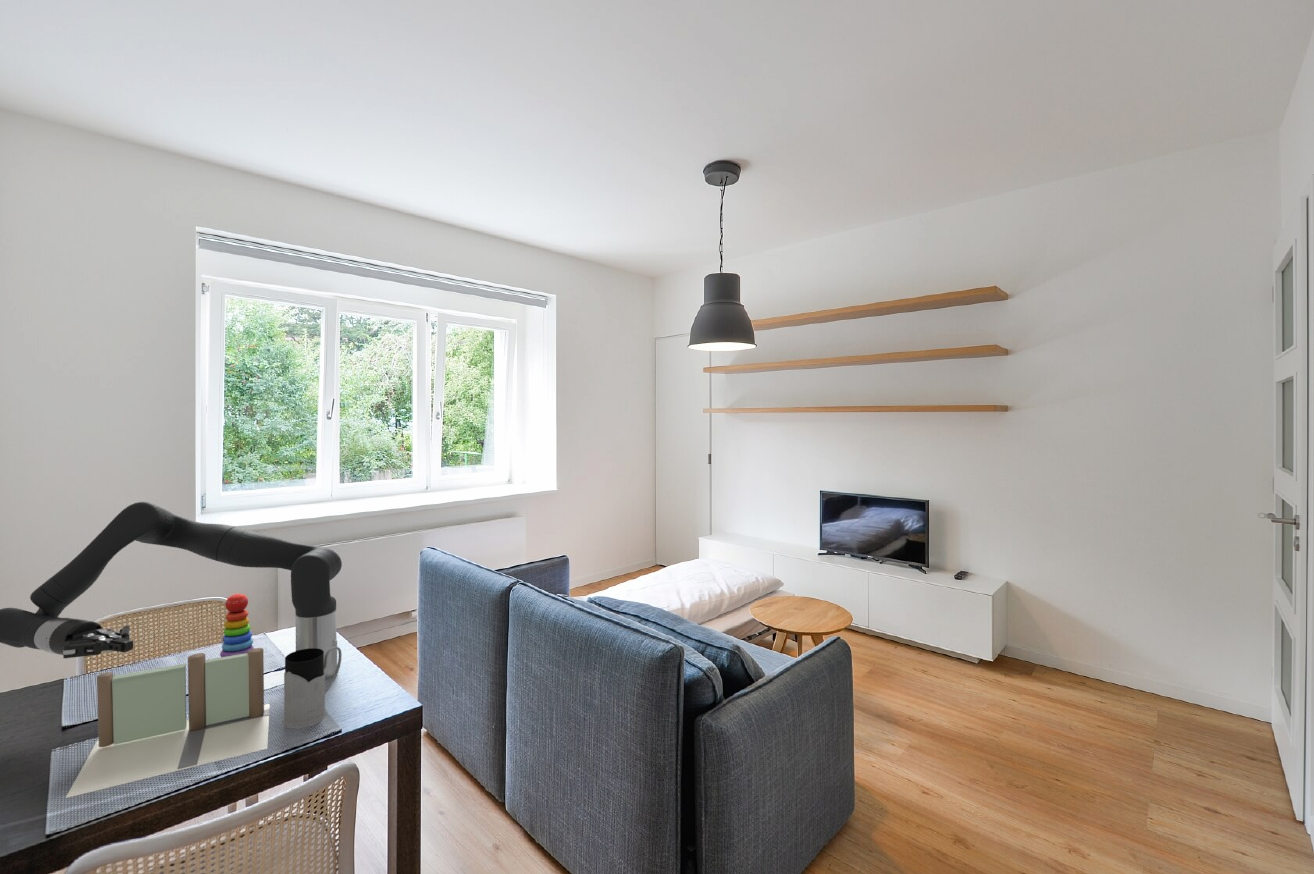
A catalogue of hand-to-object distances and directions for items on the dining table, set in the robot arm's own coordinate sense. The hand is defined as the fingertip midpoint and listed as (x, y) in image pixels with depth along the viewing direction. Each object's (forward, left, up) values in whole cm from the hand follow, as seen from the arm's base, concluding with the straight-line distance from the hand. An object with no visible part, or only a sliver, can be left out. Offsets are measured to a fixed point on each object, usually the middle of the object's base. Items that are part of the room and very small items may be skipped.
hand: (129, 646), depth 125 cm
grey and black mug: (-34, +12, -19) cm, 41 cm away
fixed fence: (-17, +7, -18) cm, 26 cm away
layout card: (-10, +13, -19) cm, 25 cm away
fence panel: (-3, +7, -18) cm, 19 cm away
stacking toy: (-17, -29, -19) cm, 39 cm away
